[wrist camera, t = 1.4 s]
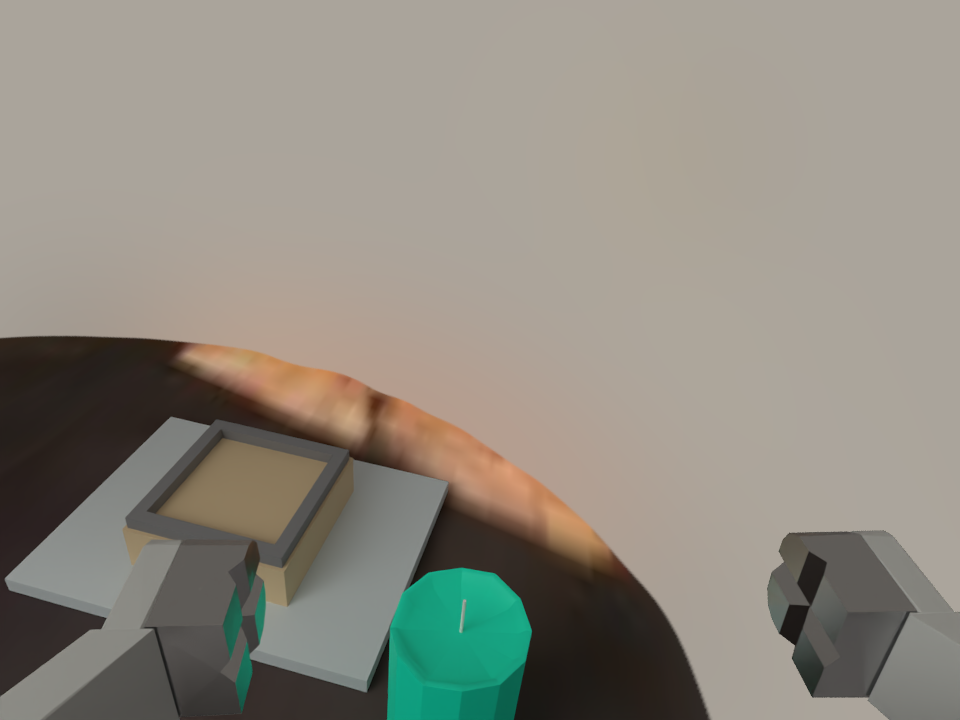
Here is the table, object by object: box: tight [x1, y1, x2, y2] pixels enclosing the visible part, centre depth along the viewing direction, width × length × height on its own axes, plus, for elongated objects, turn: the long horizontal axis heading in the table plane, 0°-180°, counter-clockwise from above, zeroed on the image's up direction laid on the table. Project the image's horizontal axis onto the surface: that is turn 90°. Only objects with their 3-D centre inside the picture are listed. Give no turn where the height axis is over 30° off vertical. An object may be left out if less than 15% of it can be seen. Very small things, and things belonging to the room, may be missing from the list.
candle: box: [387, 568, 532, 720], centre depth 32 cm, size 6×6×12 cm
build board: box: [5, 417, 449, 692], centre depth 44 cm, size 22×16×5 cm
